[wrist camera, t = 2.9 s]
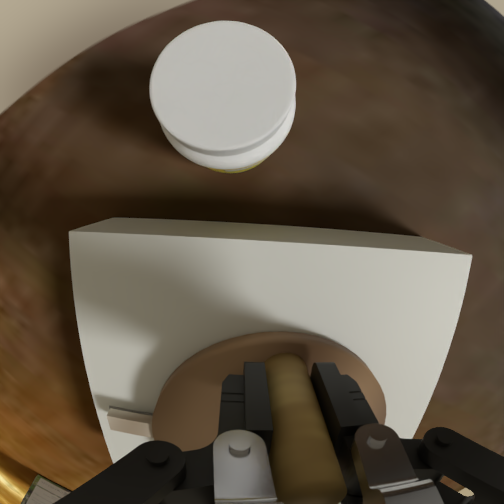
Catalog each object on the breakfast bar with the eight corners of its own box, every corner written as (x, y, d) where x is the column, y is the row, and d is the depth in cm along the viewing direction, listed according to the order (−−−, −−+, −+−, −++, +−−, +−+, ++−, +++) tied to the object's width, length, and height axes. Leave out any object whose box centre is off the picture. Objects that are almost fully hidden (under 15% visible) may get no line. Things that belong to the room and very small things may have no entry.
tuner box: (421, 236, 17) (473, 255, 12) (361, 452, 21) (379, 496, 16) (113, 217, 16) (67, 231, 11) (140, 448, 20) (125, 495, 15)
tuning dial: (404, 330, 12) (498, 427, 5) (348, 481, 15) (376, 567, 8) (96, 315, 12) (0, 417, 5) (131, 474, 14) (103, 563, 7)
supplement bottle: (172, 110, 15) (113, 52, 7) (253, 75, 15) (264, -12, 7) (209, 189, 16) (175, 195, 8) (291, 153, 16) (340, 124, 8)
